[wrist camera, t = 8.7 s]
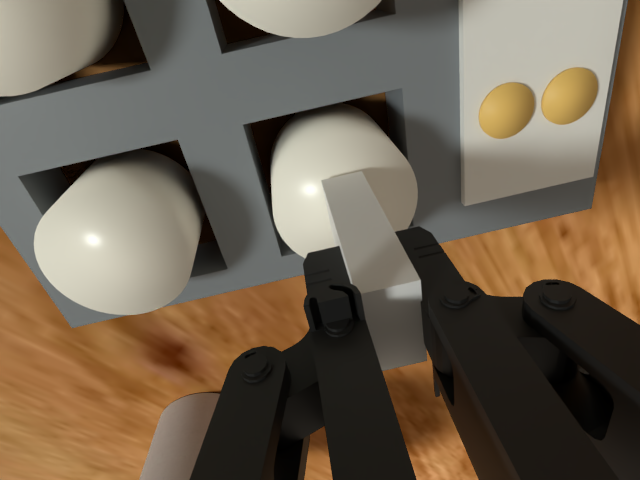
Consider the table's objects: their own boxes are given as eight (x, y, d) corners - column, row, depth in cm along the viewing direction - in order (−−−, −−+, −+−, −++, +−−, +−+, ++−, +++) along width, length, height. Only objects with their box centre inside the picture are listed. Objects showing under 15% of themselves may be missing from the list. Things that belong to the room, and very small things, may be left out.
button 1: (54, 164, 18) (0, 211, 15) (179, 135, 18) (158, 175, 15) (112, 266, 21) (80, 327, 17) (220, 241, 21) (211, 297, 17)
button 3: (255, 118, 18) (254, 153, 15) (380, 89, 18) (412, 117, 15) (285, 226, 21) (291, 279, 17) (393, 201, 21) (422, 249, 17)
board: (-174, -139, 13) (-301, -174, 10) (614, -319, 14) (717, -407, 10) (93, 289, 23) (67, 336, 20) (554, 183, 23) (599, 213, 20)
